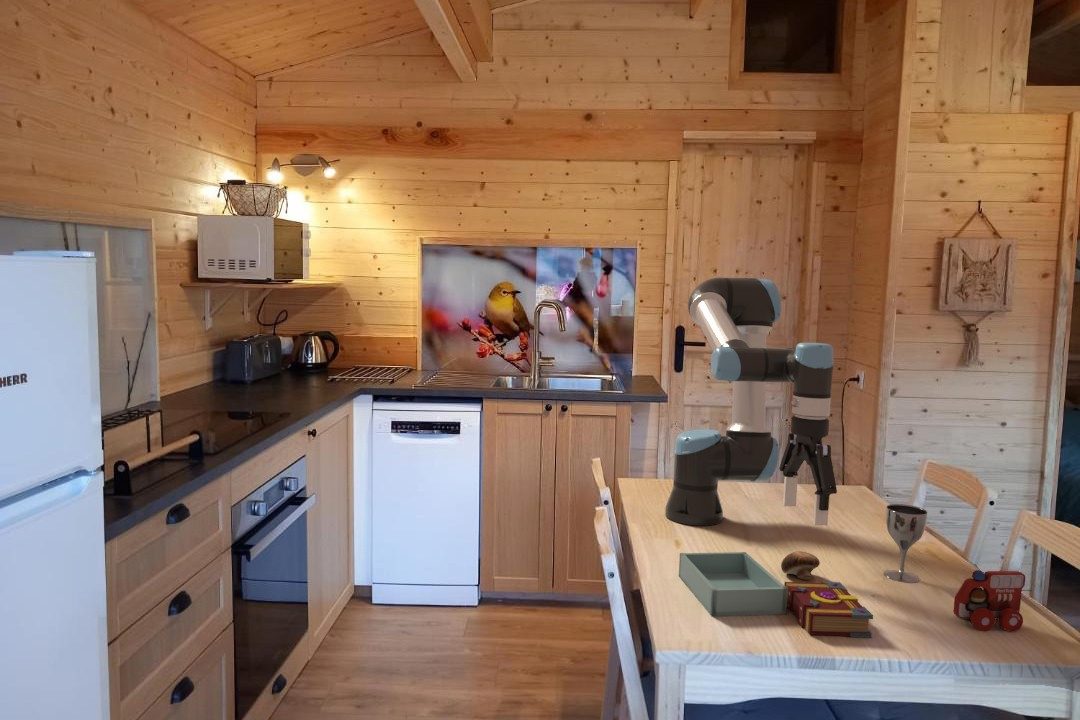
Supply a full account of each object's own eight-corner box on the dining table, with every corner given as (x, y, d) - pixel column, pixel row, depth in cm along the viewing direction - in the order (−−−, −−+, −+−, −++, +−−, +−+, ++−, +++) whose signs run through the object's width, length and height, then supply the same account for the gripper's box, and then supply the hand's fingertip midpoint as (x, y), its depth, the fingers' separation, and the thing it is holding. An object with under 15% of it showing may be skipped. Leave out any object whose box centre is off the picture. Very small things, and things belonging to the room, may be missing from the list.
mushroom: (824, 573, 154) (813, 544, 157) (786, 583, 156) (776, 554, 159) (825, 579, 161) (815, 551, 164) (789, 589, 163) (779, 561, 166)
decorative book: (808, 637, 133) (809, 610, 132) (779, 600, 149) (781, 575, 148) (872, 639, 133) (874, 612, 132) (836, 601, 149) (838, 577, 148)
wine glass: (918, 572, 165) (924, 506, 164) (924, 585, 158) (930, 516, 156) (879, 567, 168) (884, 502, 166) (883, 580, 160) (888, 511, 159)
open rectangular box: (678, 576, 159) (679, 553, 158) (744, 574, 161) (745, 552, 160) (711, 616, 140) (713, 590, 139) (785, 614, 142) (787, 588, 141)
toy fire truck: (943, 614, 144) (947, 562, 143) (1006, 616, 144) (1011, 563, 143) (964, 631, 137) (968, 576, 136) (1030, 632, 137) (1036, 577, 136)
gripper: (767, 407, 169) (762, 499, 171) (823, 426, 144) (816, 533, 146) (799, 407, 170) (793, 498, 172) (859, 427, 145) (852, 533, 147)
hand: (804, 515), depth 159 cm, fingers open, 13 cm apart
